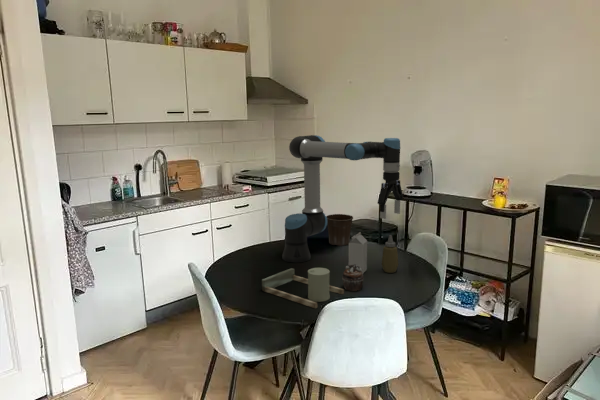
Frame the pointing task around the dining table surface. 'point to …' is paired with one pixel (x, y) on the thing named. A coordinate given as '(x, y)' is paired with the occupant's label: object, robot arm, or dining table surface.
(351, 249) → the milk carton
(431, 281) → the dining table surface
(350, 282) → the cupcake
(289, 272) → the guide track
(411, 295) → the dining table surface
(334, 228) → the plant pot
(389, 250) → the squeeze bottle
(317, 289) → the can
